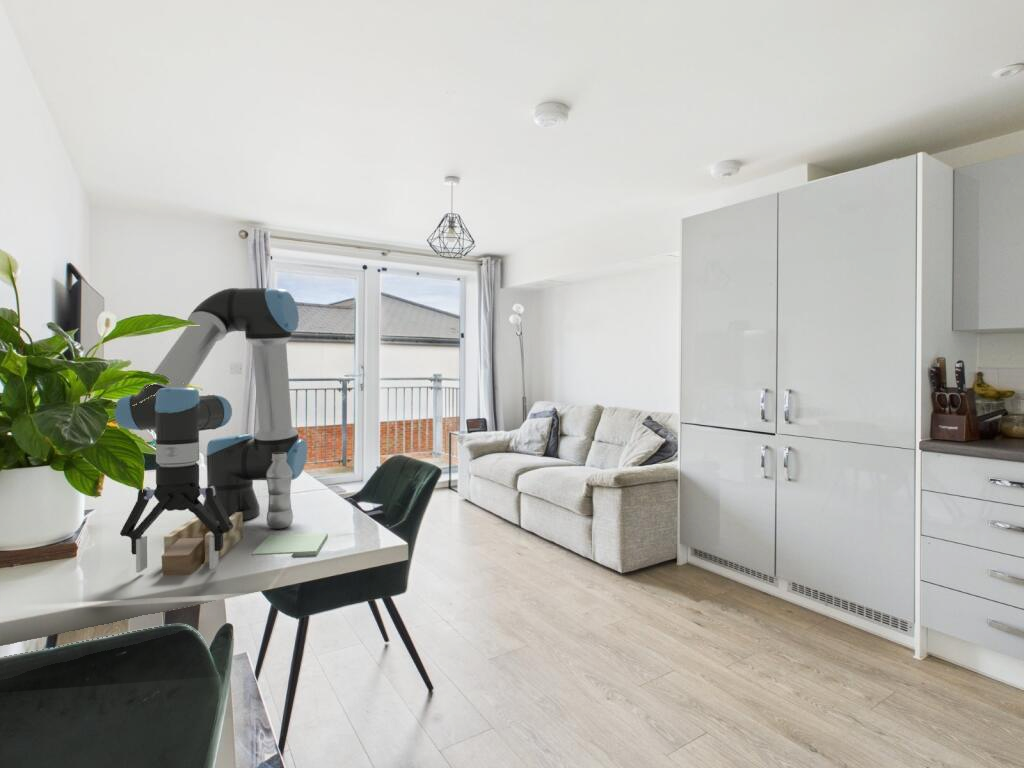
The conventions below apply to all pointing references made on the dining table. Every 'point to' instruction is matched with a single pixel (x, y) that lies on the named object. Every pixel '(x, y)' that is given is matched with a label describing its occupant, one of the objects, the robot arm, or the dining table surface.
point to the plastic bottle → (279, 492)
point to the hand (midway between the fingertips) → (178, 568)
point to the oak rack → (206, 534)
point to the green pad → (292, 544)
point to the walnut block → (183, 557)
